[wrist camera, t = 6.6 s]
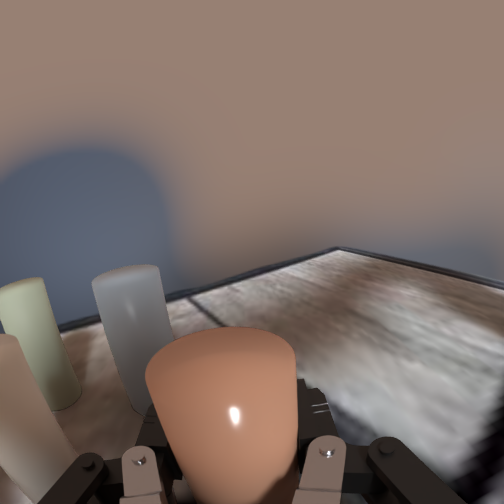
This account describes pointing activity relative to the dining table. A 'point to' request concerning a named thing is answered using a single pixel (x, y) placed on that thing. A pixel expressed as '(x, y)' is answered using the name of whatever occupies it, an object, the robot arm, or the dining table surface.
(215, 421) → the terracotta canister
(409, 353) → the dining table surface
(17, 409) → the cream canister
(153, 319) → the dusty blue canister
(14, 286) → the sage canister
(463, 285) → the dining table surface
